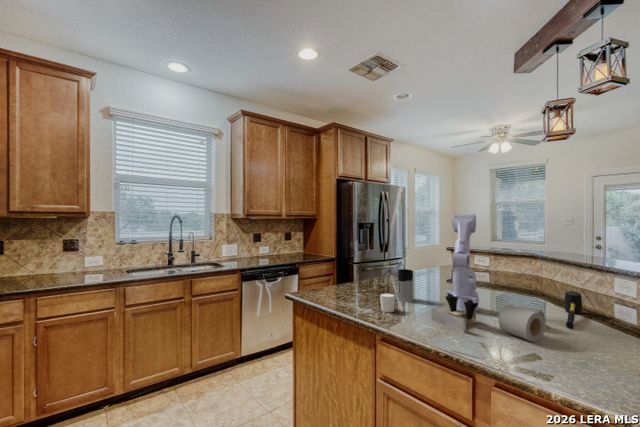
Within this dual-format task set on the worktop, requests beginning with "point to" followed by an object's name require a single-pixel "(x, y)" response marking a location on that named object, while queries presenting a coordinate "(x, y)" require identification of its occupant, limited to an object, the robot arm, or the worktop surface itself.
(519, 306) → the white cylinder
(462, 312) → the maple rail
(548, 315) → the worktop surface
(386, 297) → the shot glass
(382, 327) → the worktop surface
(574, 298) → the mallet
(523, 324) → the toilet paper
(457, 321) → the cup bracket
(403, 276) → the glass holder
